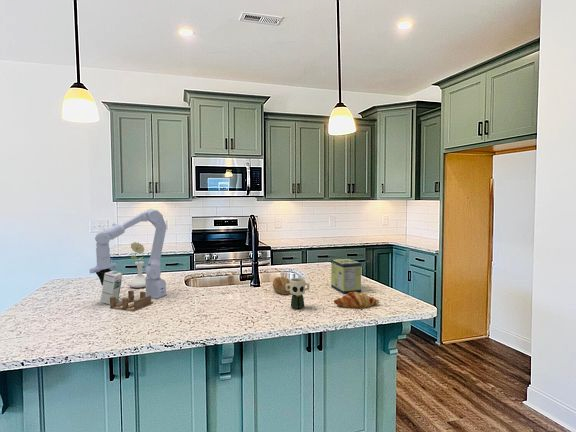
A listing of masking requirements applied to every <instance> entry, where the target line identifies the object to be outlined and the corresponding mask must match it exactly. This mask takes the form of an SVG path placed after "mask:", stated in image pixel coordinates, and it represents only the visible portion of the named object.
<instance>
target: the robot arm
mask: <svg viewBox="0 0 576 432" xmlns="http://www.w3.org/2000/svg"><path fill="white" fill-rule="evenodd" d="M163 215H164V214H162V213H161V212H160V211H159V210H157V209H154V208H149V209H147V210H144V211H141V212H140V213H138V214H136V215H134V216H132V217H130V218H129V219H128V220H126V221H124V222H122V223H120V222H116V223H112V225H111V226H109V227H107V228H106V229H105V228H104V229H102V231H99V232H97V234H96V235H95V237H94V239H95V241H96V244H95V245H96V247H95V253H96V255H95V256H96V257H95V258H96V266H94V267H92V268H90V269H89V274H96V275H97V277H98V279H99V281H100V282H99V283H100V285H101V286H103V281H104V275H105V273H107V272H110V271H113V270H112V269H115V268H117V267H118V265H117V263H114V262H113V263H111V257H110V256H111V253H110V241H113V240H114V239H116V238H118V237H119V236H121V235H124V234H125V231H126V230H127V229H129V228H131V227H133V226H135V225H137V224H139V223H140V222H150V223H151V224H152V225H153V226H154V228H155V231H154V236H153V237H154V238H153V241H152V242H153V243H152V246H151V252H150V257H149V259H148V263H147V265H146V266H145V268H144V272H145V274H146V276H145V277H146V278H145V280H146V287H145V292H146V296H149V295H151V299H158V298H161V297H164V296H166V295H167V294H168V293H167V283H166V280H165V279H163V278H161V274H162V270H161V257H162V253H163V248H164V242H165V237H166V232H167V224H166V222H165V219H164V217H163Z"/></svg>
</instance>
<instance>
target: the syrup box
mask: <svg viewBox="0 0 576 432" xmlns="http://www.w3.org/2000/svg"><path fill="white" fill-rule="evenodd" d="M122 280H123V272H121V271H118V270H112V271H110V272H107V273H105V275H104V281H103V285H102V288H101V295H100V302H101V303H104V304H107V305H110V297H116V303H117V302H119V299H120V291H121V287H122Z"/></svg>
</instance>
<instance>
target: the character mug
mask: <svg viewBox="0 0 576 432" xmlns="http://www.w3.org/2000/svg"><path fill="white" fill-rule="evenodd" d="M289 280H290V284H286V291H290V293H289V294H291V300H290V307H291V308H292V309H295V310H296V309H303V308H305V299H304V298H305V297H304V294H305V293H306V291H309V290H310V283H309V282H306V279H305V278H303V277H292V278H290V279H289ZM288 286H290V289H288Z"/></svg>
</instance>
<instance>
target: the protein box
mask: <svg viewBox="0 0 576 432" xmlns="http://www.w3.org/2000/svg"><path fill="white" fill-rule="evenodd" d="M330 262H331V265H330V268H331V269H330V271H331V272H330V280H331V281H330V285H331V288H332V289H334V290H335V291H337V292H339V293H341V294H343V295H347V294H348V293H349V292H358V293H362V263H361V262H359V261H356V260H353V259H351V258H335V259H332V258H331V260H330Z"/></svg>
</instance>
